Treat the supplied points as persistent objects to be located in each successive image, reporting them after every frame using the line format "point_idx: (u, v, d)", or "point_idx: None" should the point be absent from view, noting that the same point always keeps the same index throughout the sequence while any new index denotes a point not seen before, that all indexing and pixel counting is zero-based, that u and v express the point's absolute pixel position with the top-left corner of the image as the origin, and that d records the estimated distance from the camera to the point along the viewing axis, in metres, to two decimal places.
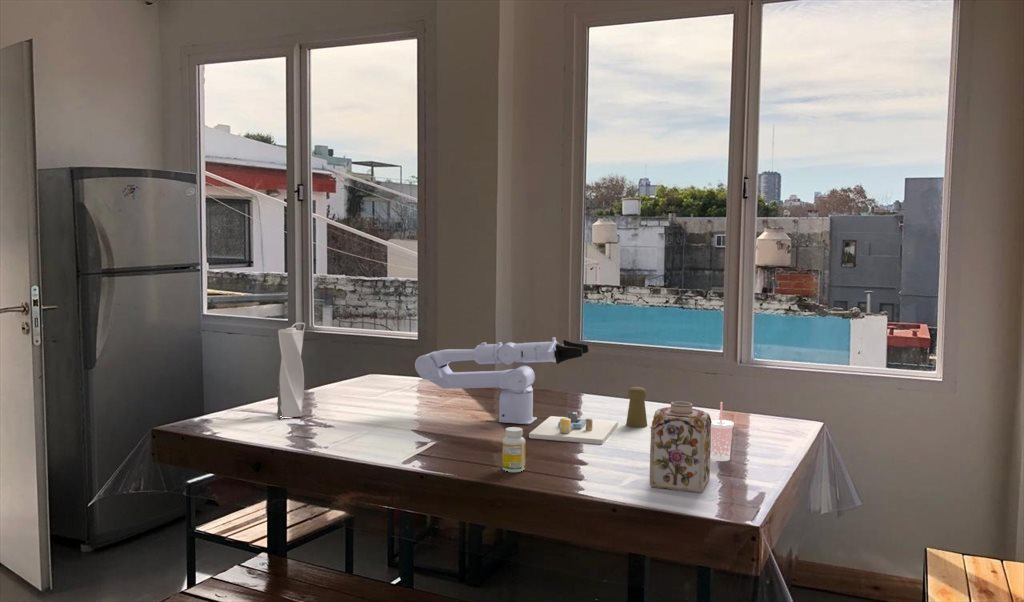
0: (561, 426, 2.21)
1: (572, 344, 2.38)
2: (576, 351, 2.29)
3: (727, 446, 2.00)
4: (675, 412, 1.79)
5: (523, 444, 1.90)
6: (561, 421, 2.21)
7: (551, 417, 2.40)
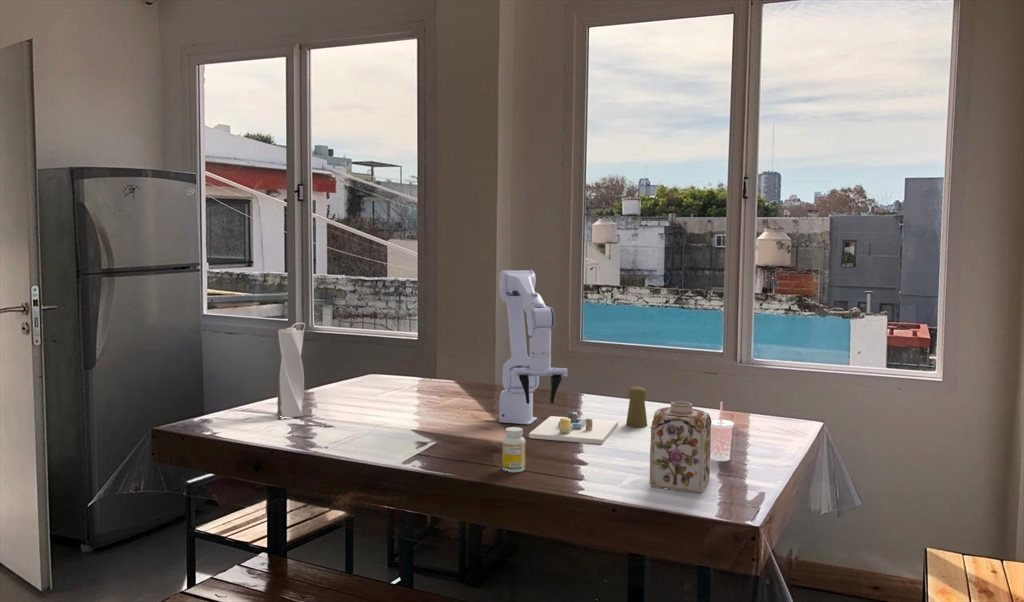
0: (561, 426, 2.21)
1: (551, 387, 2.19)
2: (526, 397, 2.20)
3: (727, 446, 2.00)
4: (675, 412, 1.79)
5: (523, 444, 1.90)
6: (561, 421, 2.21)
7: (551, 417, 2.40)
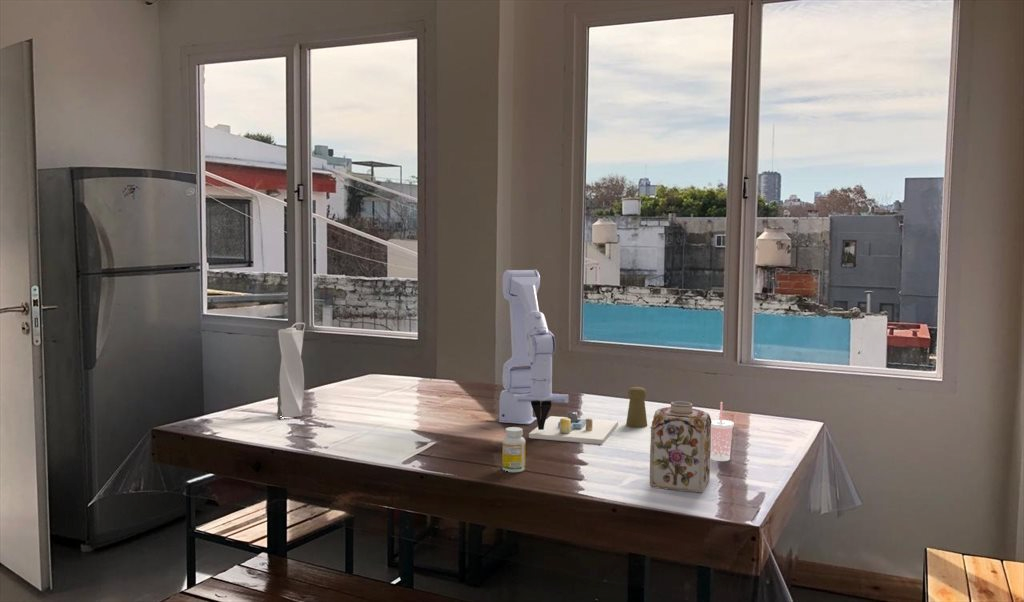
0: (561, 426, 2.21)
1: (542, 413, 2.20)
2: None
3: (727, 446, 2.00)
4: (675, 412, 1.79)
5: (523, 444, 1.90)
6: (561, 421, 2.21)
7: (551, 417, 2.40)
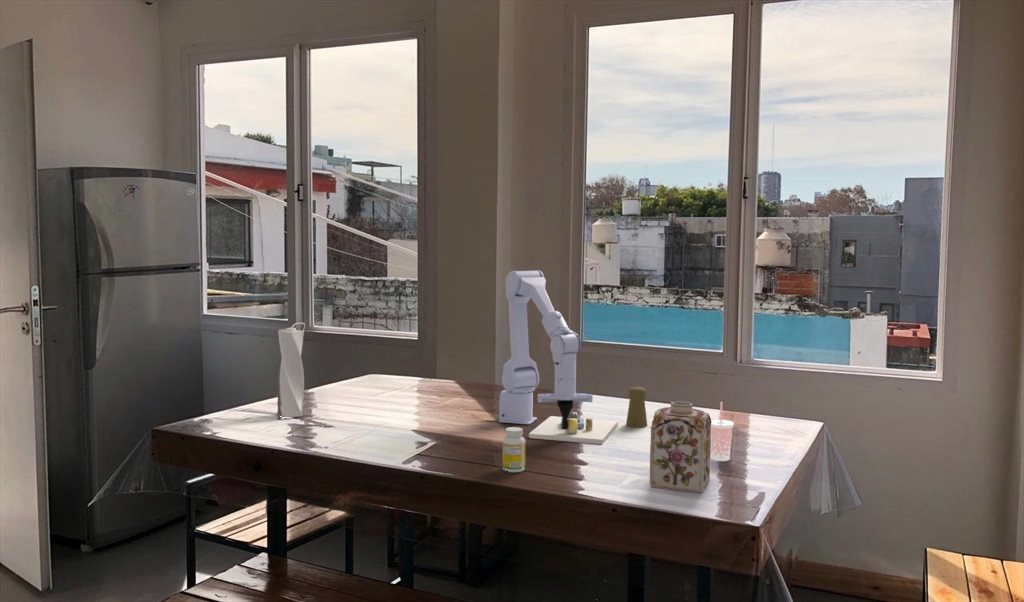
0: (569, 427, 2.20)
1: None
2: None
3: (727, 446, 2.00)
4: (675, 412, 1.79)
5: (523, 444, 1.90)
6: (569, 422, 2.20)
7: (551, 417, 2.40)
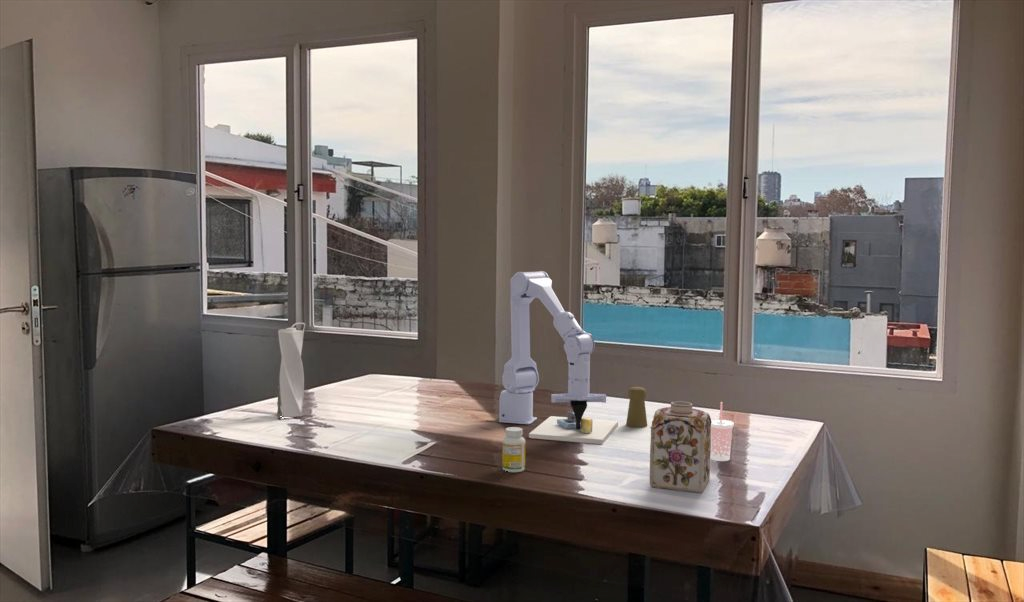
0: (585, 426, 2.21)
1: None
2: None
3: (727, 446, 2.00)
4: (675, 412, 1.79)
5: (523, 444, 1.90)
6: (585, 421, 2.21)
7: (551, 417, 2.40)
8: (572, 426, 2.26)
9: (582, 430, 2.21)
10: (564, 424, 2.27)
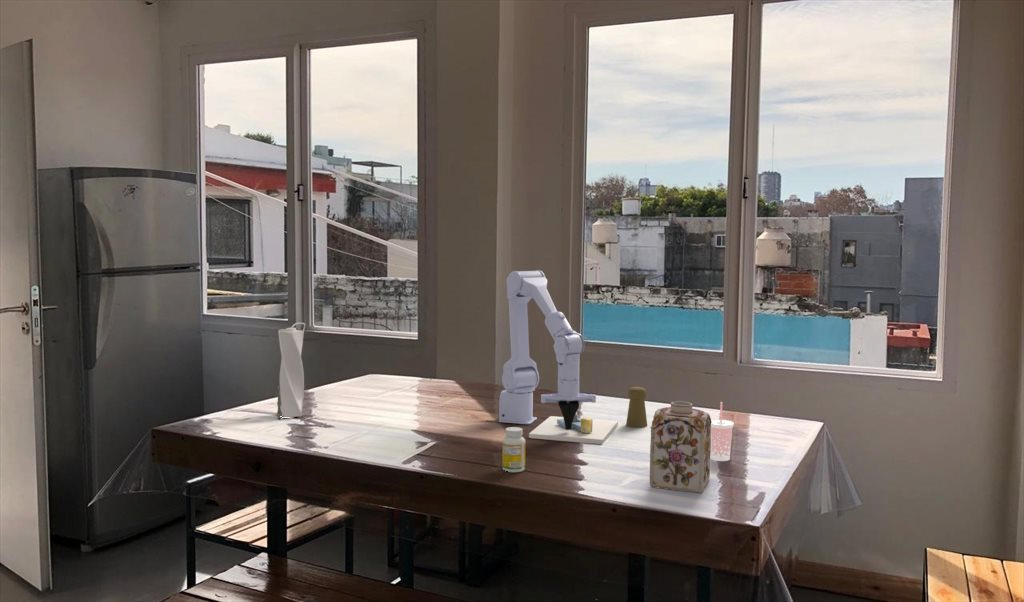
0: (585, 426, 2.21)
1: (569, 413, 2.20)
2: (565, 423, 2.21)
3: (727, 446, 2.00)
4: (675, 412, 1.79)
5: (523, 444, 1.90)
6: (585, 421, 2.21)
7: (551, 417, 2.40)
8: (572, 426, 2.26)
9: (582, 430, 2.21)
10: (564, 424, 2.27)
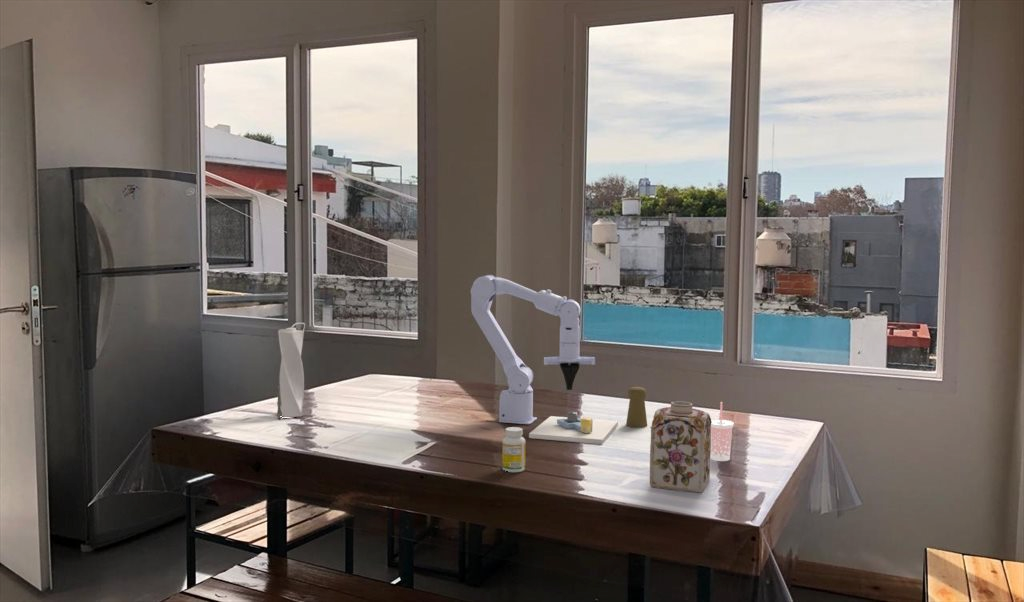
0: (585, 426, 2.21)
1: (570, 374, 2.36)
2: (566, 384, 2.37)
3: (727, 446, 2.00)
4: (675, 412, 1.79)
5: (523, 444, 1.90)
6: (585, 421, 2.21)
7: (551, 417, 2.40)
8: (572, 426, 2.26)
9: (582, 430, 2.21)
10: (564, 424, 2.27)
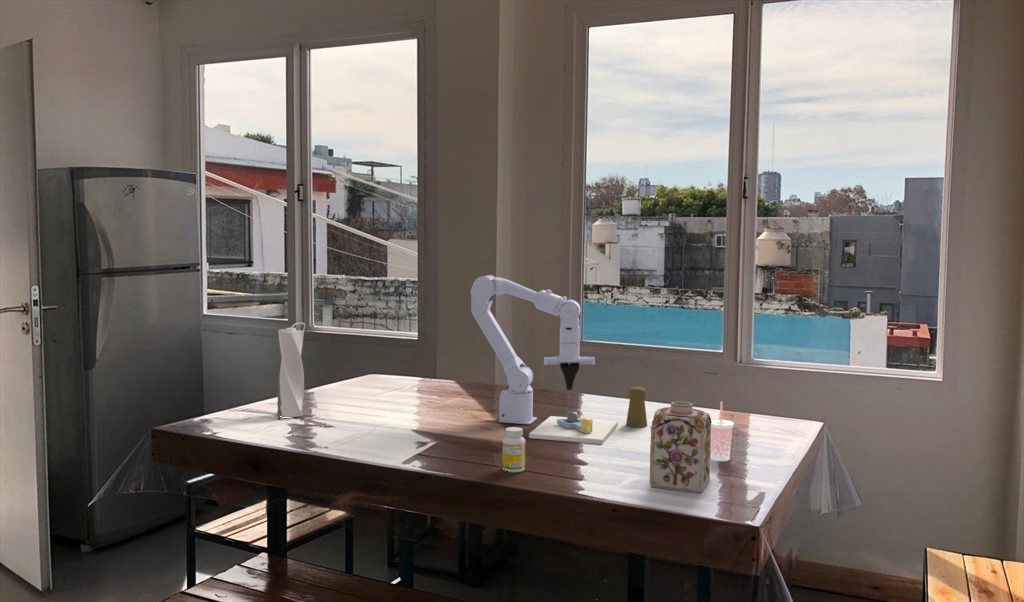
0: (585, 426, 2.21)
1: (570, 374, 2.36)
2: (566, 384, 2.37)
3: (727, 446, 2.00)
4: (675, 412, 1.79)
5: (523, 444, 1.90)
6: (585, 421, 2.21)
7: (551, 417, 2.40)
8: (572, 426, 2.26)
9: (582, 430, 2.21)
10: (564, 424, 2.27)
